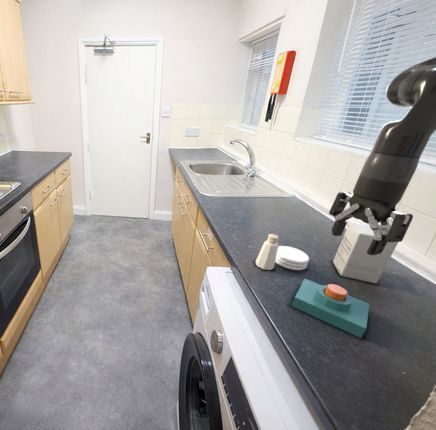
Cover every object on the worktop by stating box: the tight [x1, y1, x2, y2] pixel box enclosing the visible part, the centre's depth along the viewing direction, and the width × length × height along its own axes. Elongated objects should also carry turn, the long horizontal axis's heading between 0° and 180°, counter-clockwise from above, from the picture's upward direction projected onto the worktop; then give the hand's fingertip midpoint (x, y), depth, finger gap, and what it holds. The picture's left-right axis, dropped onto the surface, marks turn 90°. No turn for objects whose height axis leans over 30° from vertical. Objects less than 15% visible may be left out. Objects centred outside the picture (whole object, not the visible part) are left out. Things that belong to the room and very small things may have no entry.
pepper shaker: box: [255, 233, 279, 271], centre depth 83 cm, size 5×5×11 cm
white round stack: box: [275, 245, 310, 271], centre depth 87 cm, size 10×10×4 cm
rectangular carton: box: [332, 221, 399, 284], centre depth 80 cm, size 9×9×15 cm
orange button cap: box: [325, 283, 348, 301], centre depth 66 cm, size 4×4×2 cm
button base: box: [291, 278, 370, 339], centre depth 67 cm, size 14×11×5 cm
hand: (352, 244), depth 61 cm, fingers open, 8 cm apart
